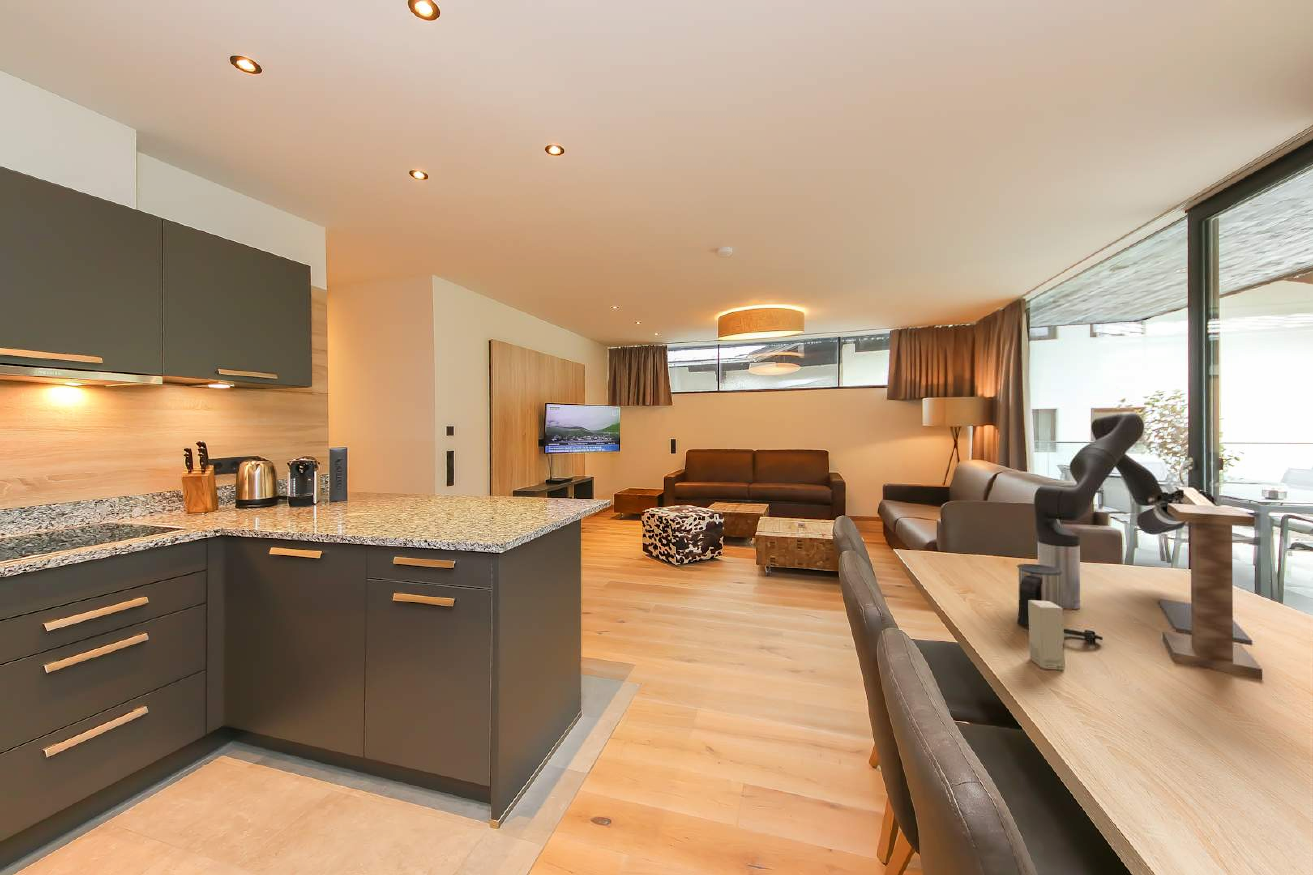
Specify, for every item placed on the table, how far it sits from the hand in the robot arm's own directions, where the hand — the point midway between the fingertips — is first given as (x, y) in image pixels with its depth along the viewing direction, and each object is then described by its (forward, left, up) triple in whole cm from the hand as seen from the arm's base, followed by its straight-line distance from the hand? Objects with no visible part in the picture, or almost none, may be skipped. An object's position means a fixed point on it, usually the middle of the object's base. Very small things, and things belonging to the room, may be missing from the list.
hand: (1191, 493), depth 127 cm
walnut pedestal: (+8, -30, -32) cm, 45 cm away
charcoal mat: (+2, -2, -32) cm, 32 cm away
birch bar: (+2, -5, -4) cm, 7 cm away
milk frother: (-14, -41, -33) cm, 54 cm away
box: (-9, -62, -32) cm, 71 cm away
